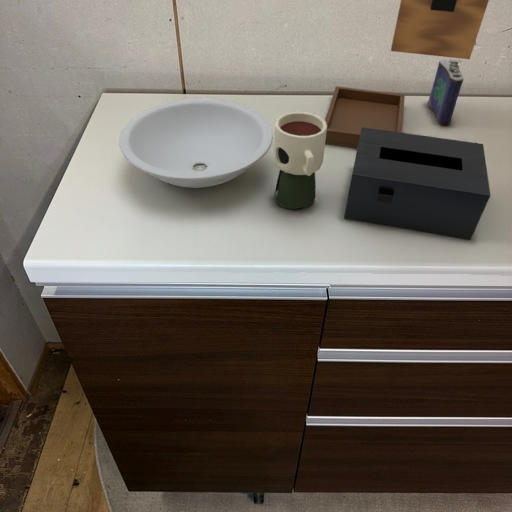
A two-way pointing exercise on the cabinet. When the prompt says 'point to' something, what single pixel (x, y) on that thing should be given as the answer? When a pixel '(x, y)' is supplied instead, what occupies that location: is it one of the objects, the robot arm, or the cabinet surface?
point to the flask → (445, 91)
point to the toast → (438, 28)
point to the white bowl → (196, 141)
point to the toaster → (418, 183)
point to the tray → (361, 114)
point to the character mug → (298, 157)
